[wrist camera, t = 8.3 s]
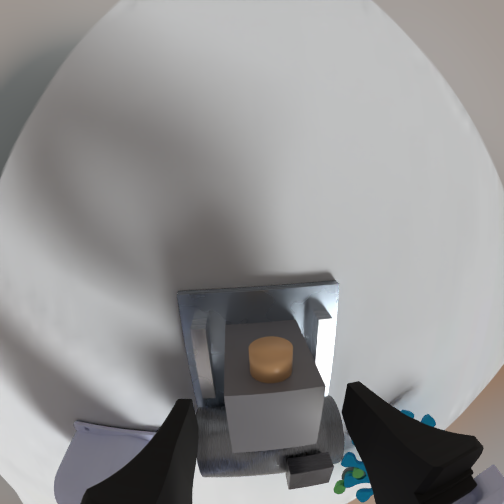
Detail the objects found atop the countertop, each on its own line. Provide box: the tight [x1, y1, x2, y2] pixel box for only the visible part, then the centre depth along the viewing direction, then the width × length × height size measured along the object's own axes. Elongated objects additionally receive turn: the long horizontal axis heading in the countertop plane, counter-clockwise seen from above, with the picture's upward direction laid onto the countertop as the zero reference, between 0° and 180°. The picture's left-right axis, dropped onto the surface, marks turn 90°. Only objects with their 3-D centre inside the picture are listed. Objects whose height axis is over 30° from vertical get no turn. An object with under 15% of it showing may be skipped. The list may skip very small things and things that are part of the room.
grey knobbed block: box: [224, 320, 326, 453], centre depth 13 cm, size 4×5×6 cm
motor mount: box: [177, 280, 344, 489], centre depth 14 cm, size 9×12×7 cm
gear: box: [334, 410, 445, 502], centre depth 19 cm, size 11×6×10 cm
